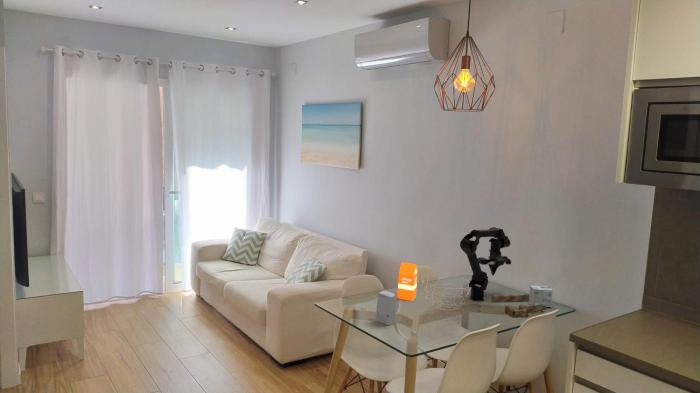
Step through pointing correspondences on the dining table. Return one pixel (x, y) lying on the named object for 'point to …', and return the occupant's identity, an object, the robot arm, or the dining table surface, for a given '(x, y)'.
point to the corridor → (523, 309)
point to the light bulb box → (540, 295)
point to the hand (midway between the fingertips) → (492, 275)
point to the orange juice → (407, 281)
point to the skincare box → (386, 307)
